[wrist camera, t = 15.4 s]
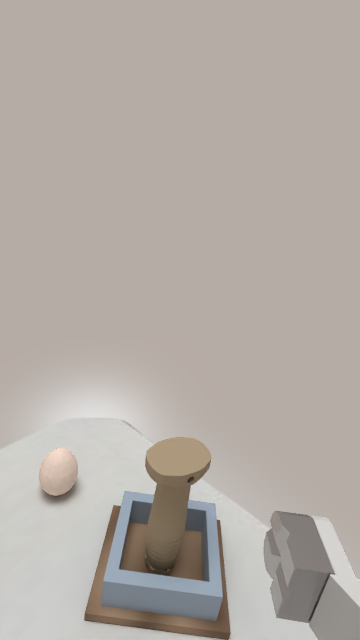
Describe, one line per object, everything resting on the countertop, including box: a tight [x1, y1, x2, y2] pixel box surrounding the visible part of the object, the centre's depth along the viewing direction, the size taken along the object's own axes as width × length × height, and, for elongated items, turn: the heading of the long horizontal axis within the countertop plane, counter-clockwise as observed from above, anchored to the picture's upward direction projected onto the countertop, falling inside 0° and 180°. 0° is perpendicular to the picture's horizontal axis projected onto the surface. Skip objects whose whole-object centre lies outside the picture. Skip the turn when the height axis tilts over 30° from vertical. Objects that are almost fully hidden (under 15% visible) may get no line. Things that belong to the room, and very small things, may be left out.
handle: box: [145, 437, 211, 576], centre depth 34 cm, size 5×6×15 cm
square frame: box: [101, 491, 223, 621], centre depth 36 cm, size 11×10×4 cm
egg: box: [39, 448, 78, 496], centre depth 43 cm, size 5×5×7 cm
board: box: [84, 505, 230, 640], centre depth 37 cm, size 14×12×1 cm
